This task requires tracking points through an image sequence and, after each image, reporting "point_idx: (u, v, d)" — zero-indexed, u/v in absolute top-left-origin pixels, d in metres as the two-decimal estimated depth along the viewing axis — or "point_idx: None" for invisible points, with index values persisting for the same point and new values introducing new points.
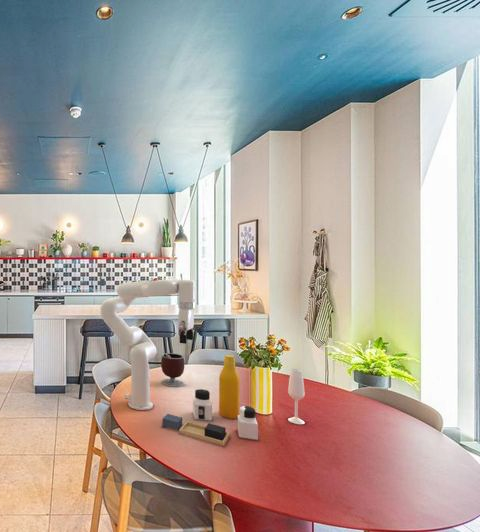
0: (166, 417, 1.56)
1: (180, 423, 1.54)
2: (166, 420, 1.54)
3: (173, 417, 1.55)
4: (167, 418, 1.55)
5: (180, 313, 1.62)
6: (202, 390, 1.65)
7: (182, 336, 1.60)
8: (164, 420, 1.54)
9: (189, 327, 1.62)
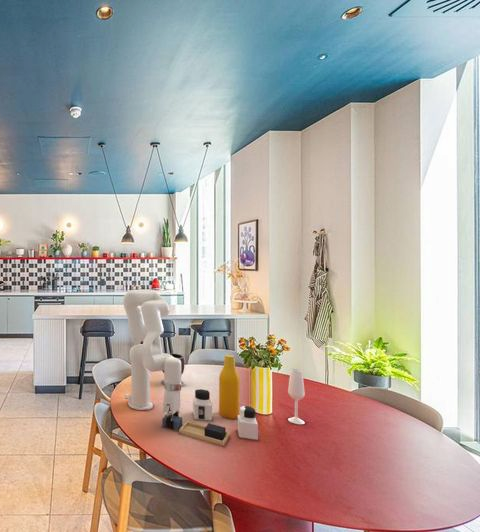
0: None
1: (180, 423, 1.54)
2: None
3: (173, 417, 1.55)
4: None
5: (165, 395, 1.52)
6: (202, 390, 1.65)
7: (169, 422, 1.52)
8: (164, 420, 1.54)
9: (175, 410, 1.52)
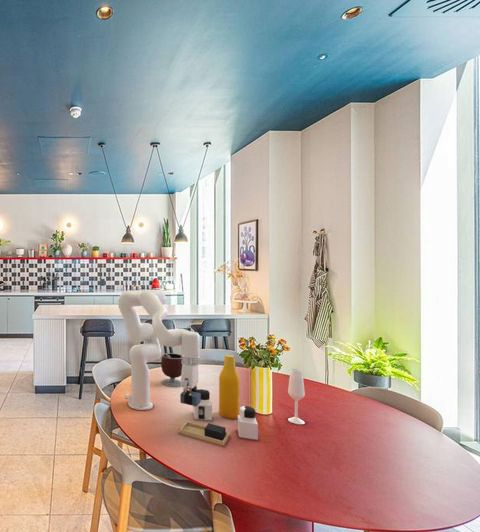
0: None
1: (199, 398, 1.49)
2: None
3: (191, 393, 1.50)
4: None
5: (183, 369, 1.48)
6: (202, 390, 1.65)
7: (187, 396, 1.47)
8: (182, 395, 1.50)
9: (193, 385, 1.48)
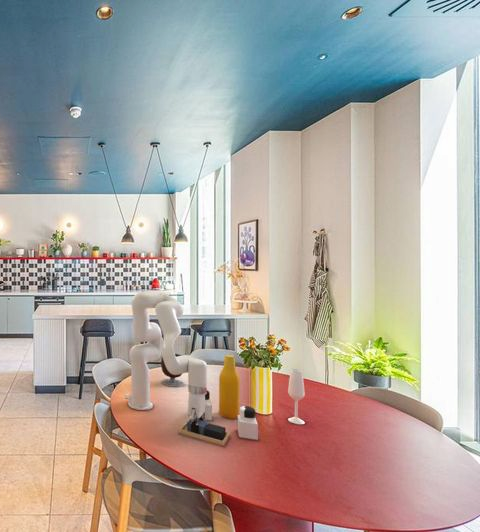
0: None
1: None
2: None
3: (198, 422, 1.49)
4: None
5: (190, 399, 1.46)
6: None
7: (194, 426, 1.45)
8: (189, 424, 1.48)
9: (200, 414, 1.46)
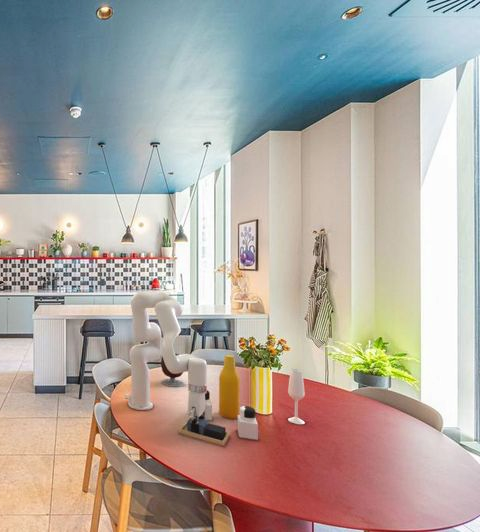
0: None
1: None
2: None
3: (198, 421, 1.49)
4: None
5: (190, 398, 1.46)
6: None
7: (194, 425, 1.45)
8: (189, 423, 1.48)
9: (200, 413, 1.46)
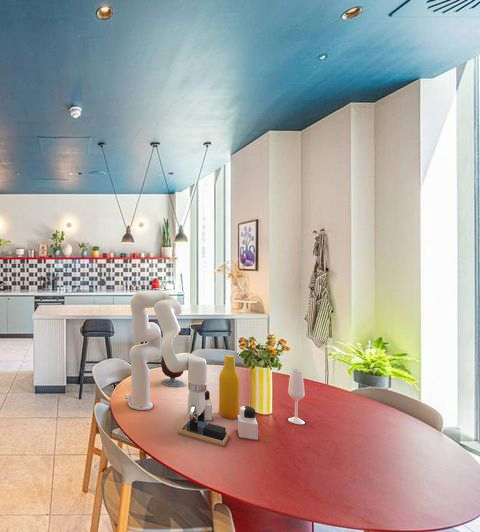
0: None
1: None
2: None
3: (198, 423, 1.49)
4: None
5: (190, 396, 1.46)
6: None
7: (193, 423, 1.44)
8: (188, 425, 1.48)
9: (200, 412, 1.46)
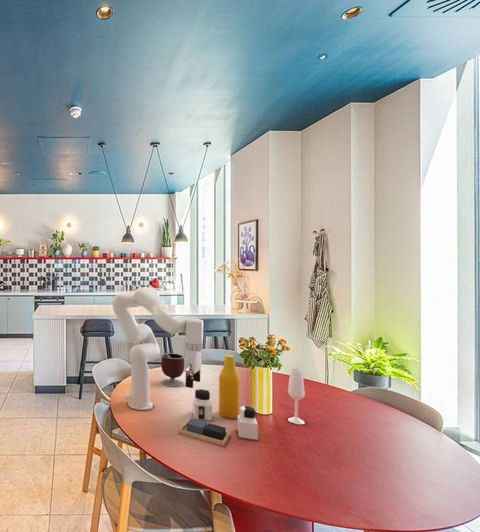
0: (190, 422, 1.49)
1: None
2: (191, 425, 1.47)
3: (198, 423, 1.49)
4: (191, 423, 1.48)
5: (187, 355, 1.51)
6: (202, 390, 1.65)
7: (188, 380, 1.50)
8: (188, 425, 1.48)
9: (196, 370, 1.52)
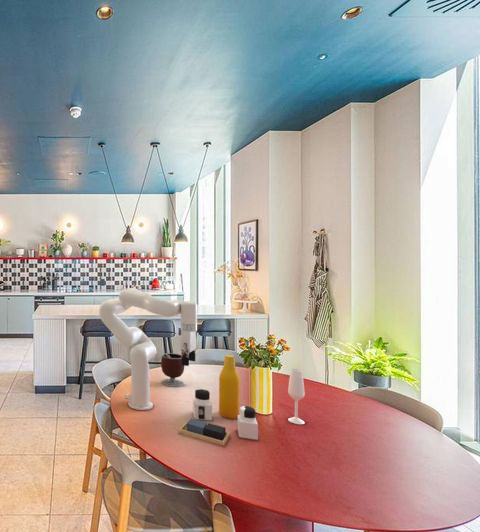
0: (190, 422, 1.49)
1: None
2: (191, 425, 1.47)
3: (198, 423, 1.49)
4: (191, 423, 1.48)
5: (182, 335, 1.61)
6: (202, 390, 1.65)
7: (184, 358, 1.59)
8: (188, 425, 1.48)
9: (191, 349, 1.61)
